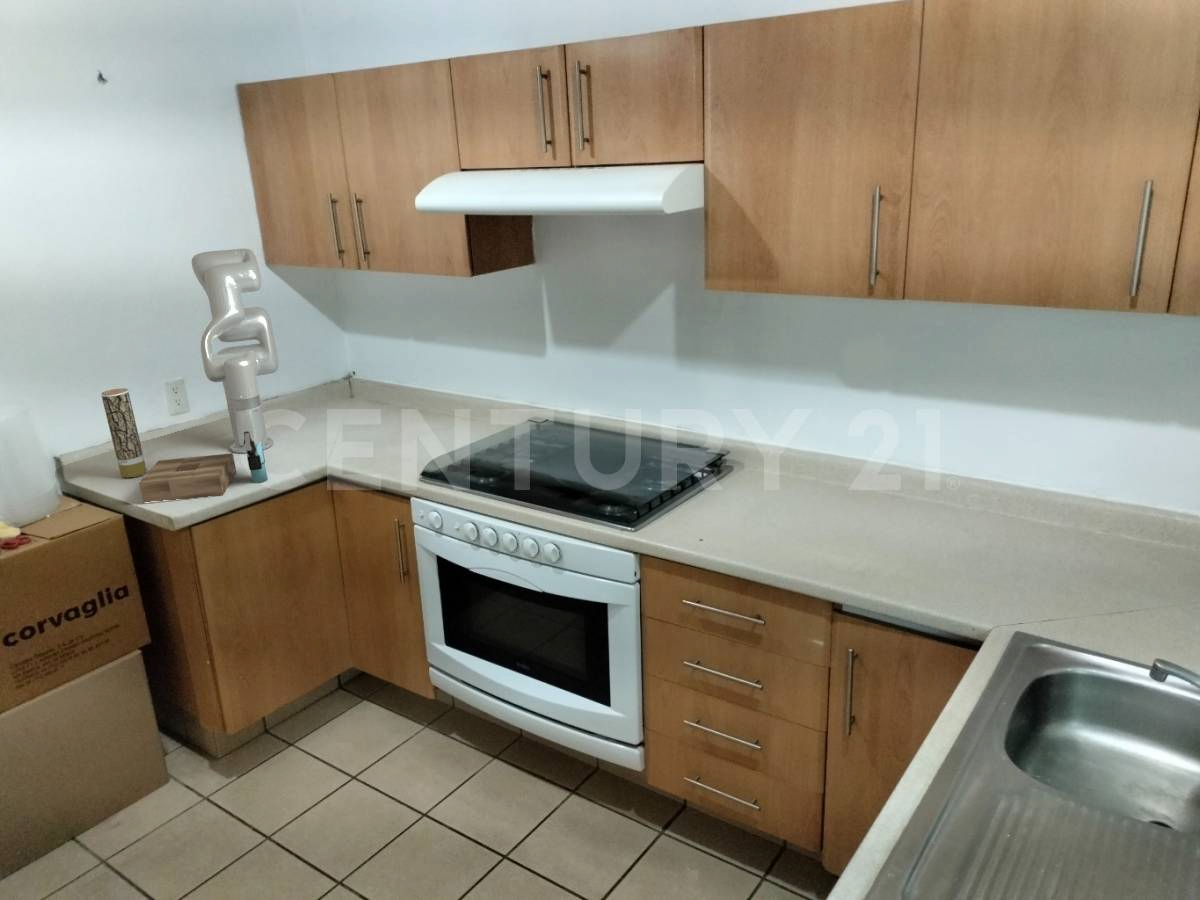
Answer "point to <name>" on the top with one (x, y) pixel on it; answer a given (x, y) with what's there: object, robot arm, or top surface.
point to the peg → (260, 474)
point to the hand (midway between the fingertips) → (257, 465)
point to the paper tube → (124, 432)
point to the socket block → (188, 478)
